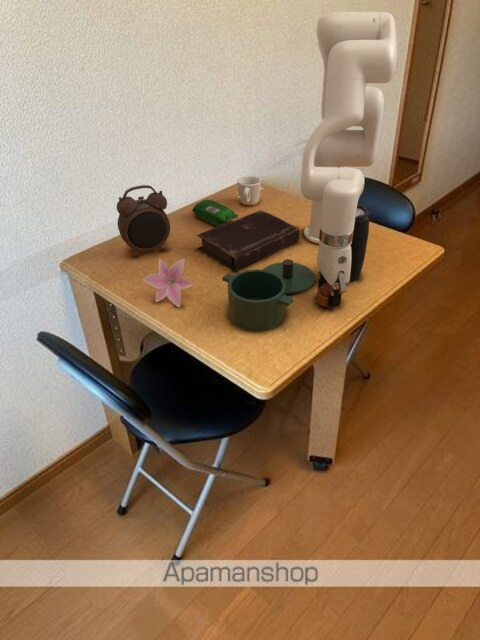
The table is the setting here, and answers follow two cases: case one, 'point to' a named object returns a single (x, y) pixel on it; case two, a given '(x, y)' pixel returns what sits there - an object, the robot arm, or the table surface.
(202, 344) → the table surface
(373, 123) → the robot arm
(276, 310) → the pot
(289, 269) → the pot lid
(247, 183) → the cup
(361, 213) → the portable speaker
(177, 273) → the lily
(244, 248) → the diary
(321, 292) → the brown domed piece
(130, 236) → the alarm clock
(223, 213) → the snack package
